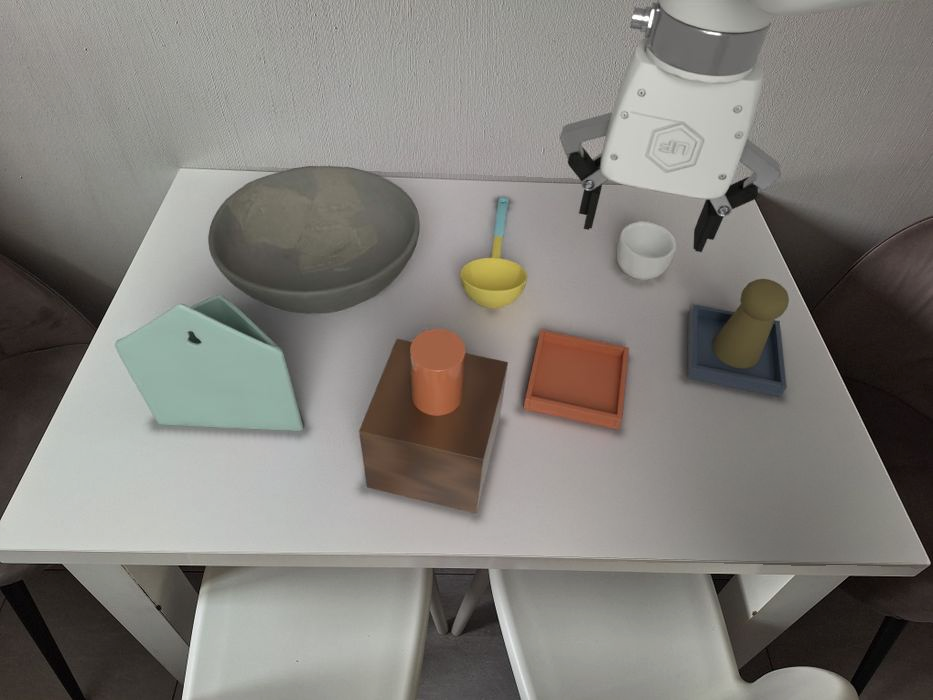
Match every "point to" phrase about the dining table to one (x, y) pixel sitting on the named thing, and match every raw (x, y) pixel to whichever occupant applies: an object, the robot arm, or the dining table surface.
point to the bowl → (314, 237)
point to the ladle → (494, 271)
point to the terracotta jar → (437, 371)
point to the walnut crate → (432, 434)
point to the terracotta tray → (578, 379)
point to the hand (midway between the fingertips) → (642, 230)
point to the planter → (211, 369)
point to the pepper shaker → (751, 324)
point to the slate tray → (711, 369)
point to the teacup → (645, 250)
